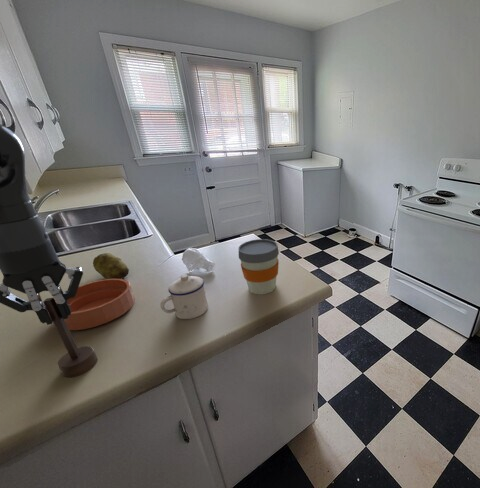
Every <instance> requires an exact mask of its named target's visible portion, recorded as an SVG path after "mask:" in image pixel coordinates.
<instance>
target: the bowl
mask: <svg viewBox="0 0 480 488" xmlns="http://www.w3.org/2000/svg"><path fill="white" fill-rule="evenodd" d="M55 301H56V300H55ZM135 301H136V298H135V295H134V293H133V289H132V286H131V283H130V282H129V281H128V280H126V279H124V278H122V279H107V278H104V279H99V280H94V281H91V282H86V283H84V284H81V285H79V287H78V290H77V293H76V295H75V297H73V298H70V299H68V300H67V302H68V304H69V306H70V308H71V315H69V318H67V319H64V320H65V322H66V325H67V327H68V329H69V331H80V330H87V329H91V328H95V327H98V326H102V325H105V324H107V323H110V322H111V321H113V320H116V319H117V318H119V317H121V316H123V315H124V314H125V313H127V312H128V311H129V310H130V309H132V307H133V306H134V304H135ZM56 304H57V302H56Z"/></svg>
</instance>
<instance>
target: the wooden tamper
mask: <svg viewBox="0 0 480 488" xmlns="http://www.w3.org/2000/svg"><path fill="white" fill-rule="evenodd" d="M42 303H43V304H44V305H45V307H46V309H47V311H48V313H49V315H50V317H51V319H52V324H53V325H54V327H55V329H56V331H57V333H58V335H59V337H60V339H61V341H62V343H63V345H64V347H65V349H66V351H67V352H66V353H65V354H63V355H62V356H61V357H60V358H59V360H58V361H57V366H58V368H59V370H60V372H61V373H62V375H63V377H65V378H75V377H78V376H81V375H84V374H85V373H88V371H90V370H91V369H92V368H94V367H95V365H96V364H97V362H98V356H97V354H96V352H95V350H94V348H93V347H92V346H90V345H86V346H85V345H84V346H80V347H78V345H77V344H76V342H75V339H74V337H73V335H72V333H71V330H69V329H68V327H67V325H66V322H65V320H64V319H63V317H62V315H61V313H60V311H59V308H58V306H57V304H56V301H55V299H54V297H48V298H45V299H44V300H42Z"/></svg>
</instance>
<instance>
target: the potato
mask: <svg viewBox="0 0 480 488" xmlns="http://www.w3.org/2000/svg"><path fill="white" fill-rule="evenodd" d="M92 264H93V265H92V266H93V268H94V270H95V271H96V273H98V274H100V275H101V276H102V277H103V278H104V279H124V278H126V277H127V276H128V275H129V273H130V269H129V267H128V266H127V265H126V263H125V262H124V261H123V260H122V259H121V258H120V257H118V256H115V255H114V254H112V253H109V252H108V253H106V252H105V253H100V254H98V255H97V256H95V257H94V259H92Z"/></svg>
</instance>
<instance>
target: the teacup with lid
mask: <svg viewBox="0 0 480 488" xmlns="http://www.w3.org/2000/svg"><path fill="white" fill-rule="evenodd" d="M168 293H169V296H167V297H165V298H163V299H162V300H161V301H160V309H161V310H162V312H164V313H166V314H174V313H175V315H176V317H177V318H179V319H181V320H191V319H196V318H197V317H201V316H202V315H203V314H204V313H205V312H207V310H208V309H209V303H208V299H207V294H206V288H205V280H204V279H203V278H202V277H200V276H196V275H188V274H182V275H181V276H180V278H178V279H176V280H174V281H173V282H171V283H170V285H169V286H168ZM170 300H171V301H172V305H173V308H170V309H166V308H165V305H166V303H167V302H168V301H170Z"/></svg>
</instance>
